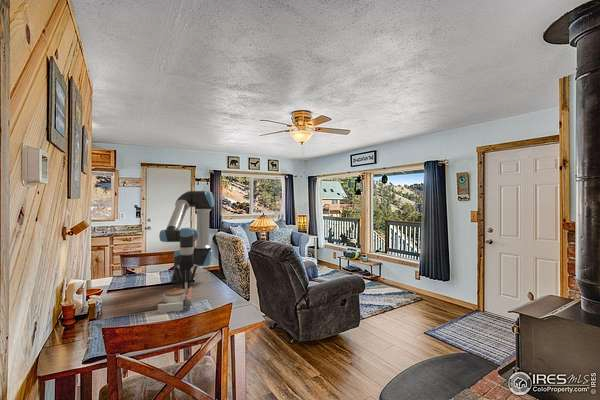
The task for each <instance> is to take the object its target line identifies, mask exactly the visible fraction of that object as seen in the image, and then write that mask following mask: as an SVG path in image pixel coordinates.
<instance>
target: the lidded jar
mask: <svg viewBox="0 0 600 400" xmlns="http://www.w3.org/2000/svg"><path fill="white" fill-rule="evenodd" d="M163 294H164V298H165V302H164V303H165V304H169V303H181V302H183V303H184V302H185V300H184V298H185V289H183V288H176V287H174V288H172V289H171V288H170V289H168V290H165V291H164V293H163Z"/></svg>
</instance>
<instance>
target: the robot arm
mask: <svg viewBox="0 0 600 400" xmlns="http://www.w3.org/2000/svg"><path fill="white" fill-rule="evenodd" d="M214 206H215V198H214V194H213V192H211V190H209V191H207V190H189V191H186V192H184V193H183V194H181V195H180V196H179V197H177V199H176V201H175V207H174V210H173V212H172V215H171V217H170V219H169V221H168V224H167V226H166V229H162V230H160V231H159V241H160V242H162V243H179V248H178V249H176V250H174V252H173V272H172V276H171V279H170V283H171V282H172V283H171V284H174V283H175V285H176V284H177V285H182V289H184V290H185V292H186V296H188V292H189V288H190V287H191V283H193V282H194V281H193V280H194V278H195V276H196V271H197V269H198V268H199V267H209V266H211V264H212V262H213V258H214V249H212V246H210V244H209V243H210V212H211V211H212V209H213V208H214ZM189 208H194V210H195V211H196V229H195V228H193V227H181V226H182V224H183V221H184V218H185V216H186V213H187V211H188V210H189ZM195 241H196V243H195V246H194V242H195ZM192 268H193V271H192Z"/></svg>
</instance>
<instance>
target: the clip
mask: <svg viewBox="0 0 600 400" xmlns="http://www.w3.org/2000/svg"><path fill="white" fill-rule="evenodd" d="M192 294H193V287H192V286H190V288H189V289H188V294H187V295H186V296H187V297H186V299H185V300H184V305H185V307H186V306H190V307H191V306H192Z"/></svg>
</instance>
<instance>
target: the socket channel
mask: <svg viewBox="0 0 600 400" xmlns="http://www.w3.org/2000/svg"><path fill="white" fill-rule="evenodd" d="M186 296H187V295H186V292H185V298H184V301H185V299H187V297H186ZM184 301H183V302H181V303H169V304H166V302H165V298H164V293H163V294H162V303H158V304H157V313H158V314H162V313H161V312H163V313H170V311H174V312H182V311H181V310H183V311H184ZM163 302H164V303H163ZM185 310H186V311H190V310H191V305H190V306H185Z"/></svg>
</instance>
